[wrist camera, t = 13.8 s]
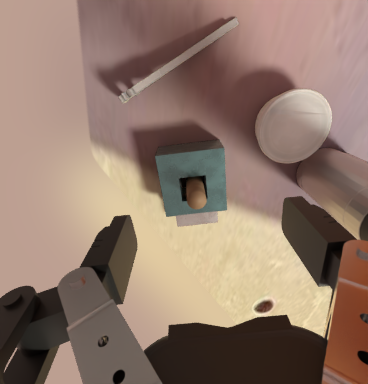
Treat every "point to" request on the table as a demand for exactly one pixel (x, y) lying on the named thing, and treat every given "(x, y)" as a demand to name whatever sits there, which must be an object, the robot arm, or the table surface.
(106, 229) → the robot arm
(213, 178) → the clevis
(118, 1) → the table surface
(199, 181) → the pin
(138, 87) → the caliper
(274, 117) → the ramekin
